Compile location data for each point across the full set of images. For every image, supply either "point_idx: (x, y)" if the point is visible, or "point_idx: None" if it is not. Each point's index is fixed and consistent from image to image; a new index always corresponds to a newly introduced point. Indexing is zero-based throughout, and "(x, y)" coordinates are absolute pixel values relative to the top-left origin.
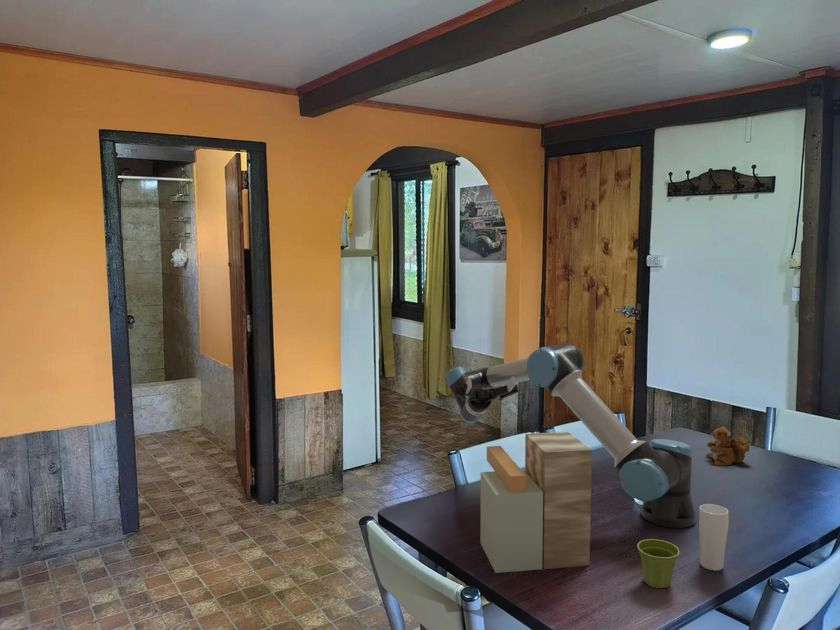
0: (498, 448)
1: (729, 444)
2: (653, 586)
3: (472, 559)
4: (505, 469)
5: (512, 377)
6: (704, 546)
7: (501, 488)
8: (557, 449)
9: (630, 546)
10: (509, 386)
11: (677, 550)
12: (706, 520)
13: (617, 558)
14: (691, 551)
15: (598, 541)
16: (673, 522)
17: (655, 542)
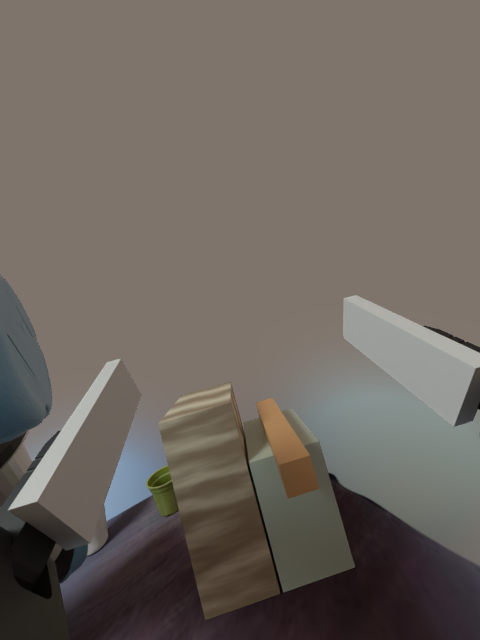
0: (283, 452)
1: None
2: None
3: (349, 514)
4: (275, 404)
5: (120, 362)
6: (104, 513)
7: (285, 417)
8: (214, 387)
9: (131, 590)
10: (106, 453)
11: (152, 475)
12: None
13: (174, 548)
14: (73, 584)
15: (163, 605)
16: None
17: (154, 489)
